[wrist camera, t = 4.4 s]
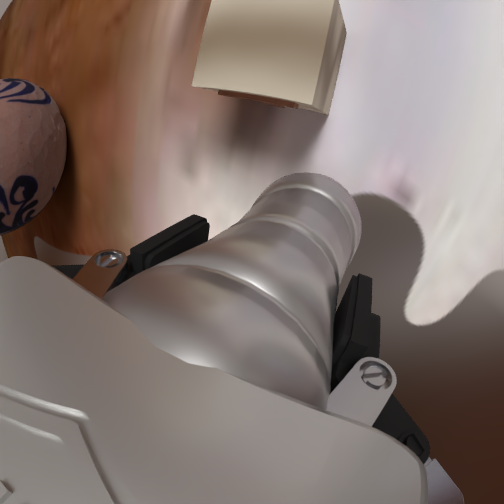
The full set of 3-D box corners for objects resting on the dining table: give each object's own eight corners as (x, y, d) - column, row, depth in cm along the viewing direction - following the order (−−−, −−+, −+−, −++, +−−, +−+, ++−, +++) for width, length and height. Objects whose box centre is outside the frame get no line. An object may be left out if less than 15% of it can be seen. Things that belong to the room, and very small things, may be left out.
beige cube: (258, 20, 14) (215, -14, 9) (346, 33, 13) (335, -9, 8) (240, 100, 17) (190, 90, 12) (327, 118, 16) (310, 110, 11)
